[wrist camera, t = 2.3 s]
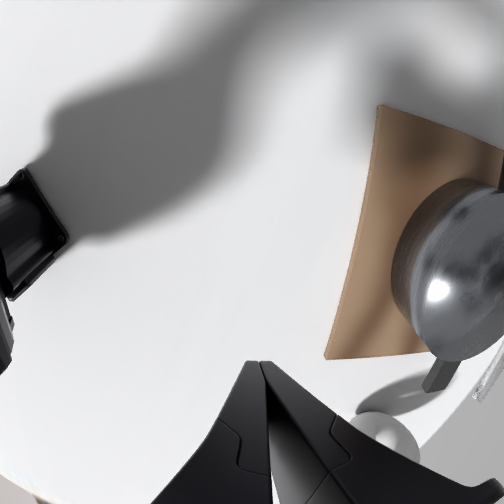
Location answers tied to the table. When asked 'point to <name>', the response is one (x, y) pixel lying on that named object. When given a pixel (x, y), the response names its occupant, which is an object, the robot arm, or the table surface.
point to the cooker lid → (490, 375)
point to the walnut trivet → (398, 225)
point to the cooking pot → (453, 273)
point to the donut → (388, 433)
